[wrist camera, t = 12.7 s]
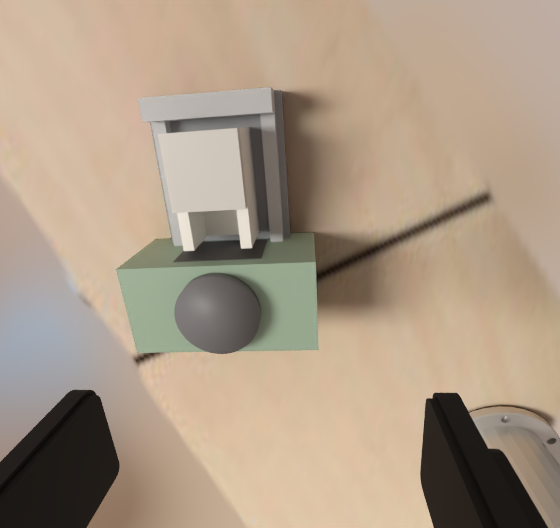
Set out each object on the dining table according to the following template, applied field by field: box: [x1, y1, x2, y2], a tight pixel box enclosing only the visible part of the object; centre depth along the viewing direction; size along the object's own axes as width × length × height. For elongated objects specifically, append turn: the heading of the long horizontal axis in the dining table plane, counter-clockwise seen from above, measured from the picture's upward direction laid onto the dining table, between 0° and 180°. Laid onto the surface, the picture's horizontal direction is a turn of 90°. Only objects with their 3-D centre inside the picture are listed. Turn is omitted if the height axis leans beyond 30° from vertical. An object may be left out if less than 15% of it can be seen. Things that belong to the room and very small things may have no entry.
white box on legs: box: [158, 127, 260, 251], centre depth 26 cm, size 8×5×5 cm, turn 4°
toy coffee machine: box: [116, 87, 319, 354], centre depth 26 cm, size 18×14×8 cm
